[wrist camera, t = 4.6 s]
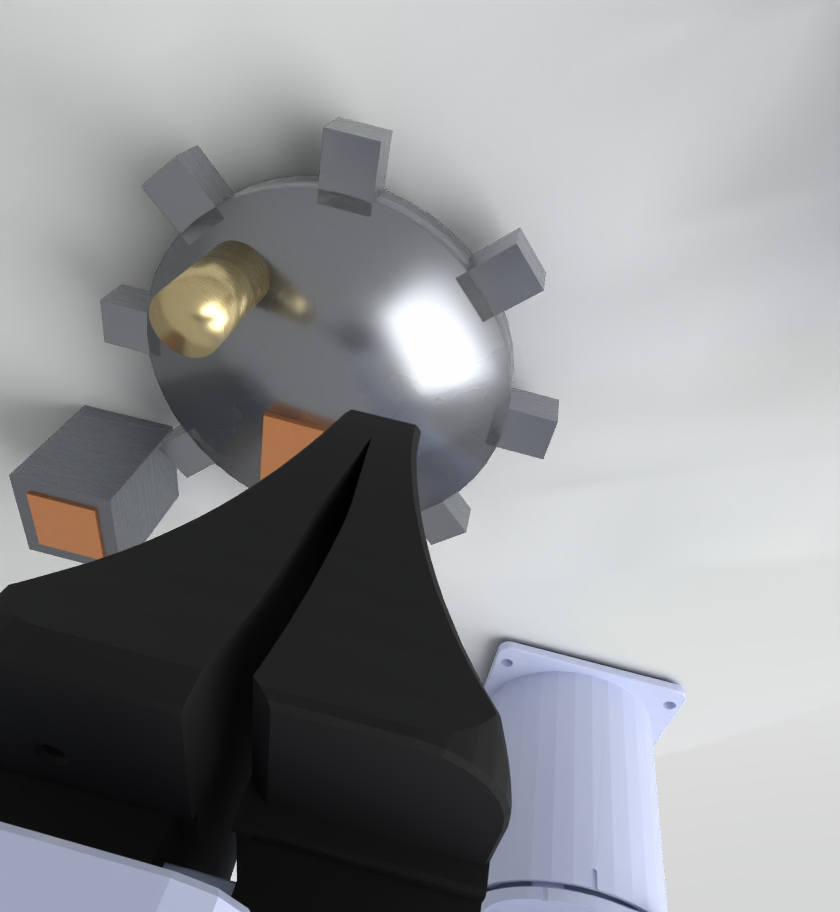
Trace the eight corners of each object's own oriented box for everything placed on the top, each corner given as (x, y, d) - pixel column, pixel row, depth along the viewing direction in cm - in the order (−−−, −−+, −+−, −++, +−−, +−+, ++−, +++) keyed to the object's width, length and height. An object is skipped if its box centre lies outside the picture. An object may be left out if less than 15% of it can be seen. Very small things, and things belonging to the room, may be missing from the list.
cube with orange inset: (178, 495, 28) (120, 574, 24) (97, 475, 28) (27, 550, 25) (173, 426, 26) (108, 502, 22) (85, 404, 26) (6, 477, 22)
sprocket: (642, 442, 21) (655, 541, 17) (308, 570, 27) (268, 661, 24) (382, -14, 15) (323, -2, 12) (37, 282, 22) (-67, 346, 18)
